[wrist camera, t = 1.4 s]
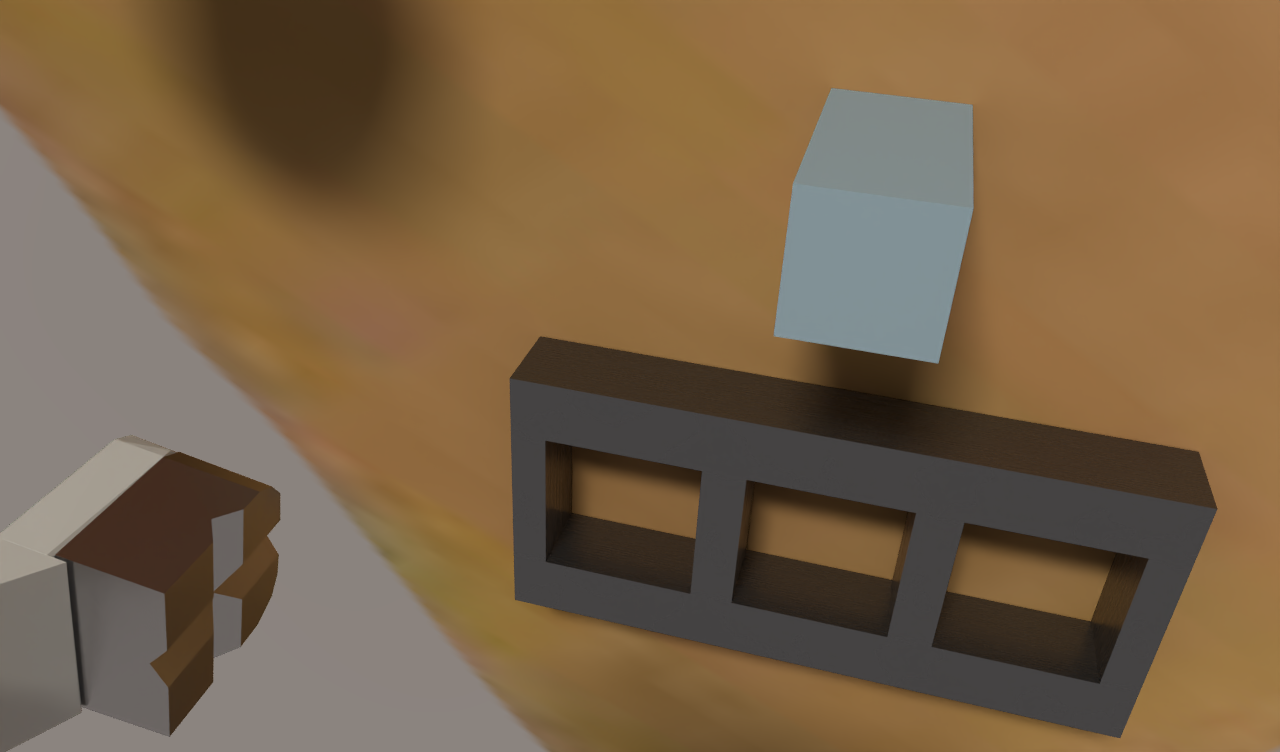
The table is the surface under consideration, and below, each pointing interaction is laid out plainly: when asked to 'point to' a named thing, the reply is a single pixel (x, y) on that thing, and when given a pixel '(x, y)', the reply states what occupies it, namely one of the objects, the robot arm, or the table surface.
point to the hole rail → (864, 472)
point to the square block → (878, 225)
